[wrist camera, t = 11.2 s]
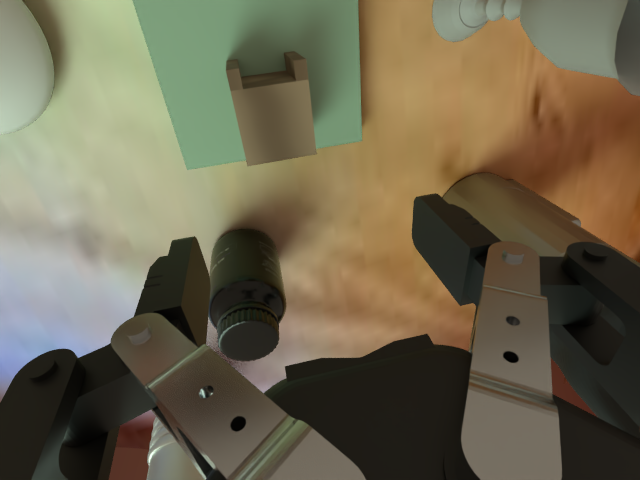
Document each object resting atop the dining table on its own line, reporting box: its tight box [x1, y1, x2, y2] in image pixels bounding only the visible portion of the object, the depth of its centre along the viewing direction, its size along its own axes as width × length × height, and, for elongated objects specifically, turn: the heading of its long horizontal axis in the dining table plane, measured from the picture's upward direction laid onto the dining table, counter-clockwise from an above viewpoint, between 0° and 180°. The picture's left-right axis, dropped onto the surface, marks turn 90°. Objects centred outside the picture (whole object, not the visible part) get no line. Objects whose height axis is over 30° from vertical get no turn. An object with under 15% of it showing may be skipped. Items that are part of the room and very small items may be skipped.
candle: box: [147, 417, 205, 480], centre depth 40 cm, size 7×7×15 cm
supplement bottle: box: [208, 229, 286, 361], centre depth 33 cm, size 7×7×12 cm
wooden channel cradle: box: [226, 51, 317, 166], centre depth 26 cm, size 5×6×5 cm
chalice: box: [432, 0, 640, 96], centre depth 22 cm, size 7×7×18 cm
